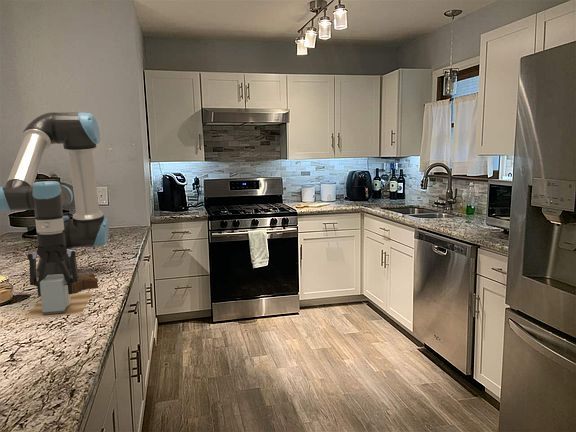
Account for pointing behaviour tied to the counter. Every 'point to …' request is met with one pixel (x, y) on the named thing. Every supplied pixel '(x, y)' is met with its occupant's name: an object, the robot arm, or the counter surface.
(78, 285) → the decorative item
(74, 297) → the board
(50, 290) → the grey rectangular block
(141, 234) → the counter surface
